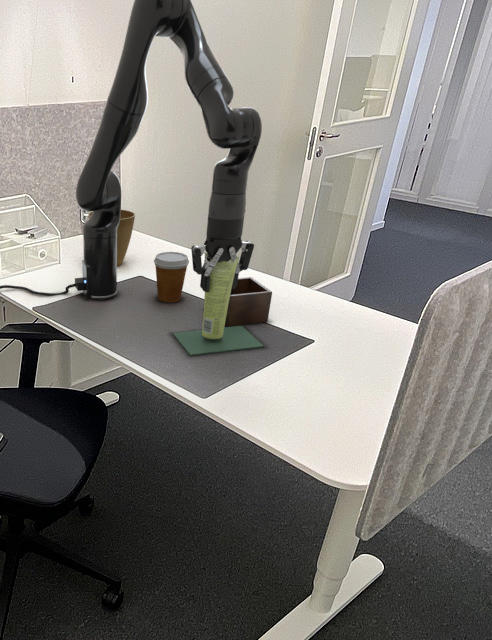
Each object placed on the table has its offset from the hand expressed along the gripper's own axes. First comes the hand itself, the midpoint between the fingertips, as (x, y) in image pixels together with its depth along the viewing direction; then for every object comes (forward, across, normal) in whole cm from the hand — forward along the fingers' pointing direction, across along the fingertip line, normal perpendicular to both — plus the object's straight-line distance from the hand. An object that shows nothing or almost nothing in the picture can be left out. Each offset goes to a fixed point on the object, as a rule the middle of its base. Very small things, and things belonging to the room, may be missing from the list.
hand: (218, 289), depth 129 cm
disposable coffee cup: (+13, +1, -29) cm, 32 cm away
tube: (+12, 0, 0) cm, 12 cm away
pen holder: (+13, -12, -13) cm, 22 cm away
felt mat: (+13, -1, 0) cm, 13 cm away
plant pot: (+13, +9, -64) cm, 66 cm away
